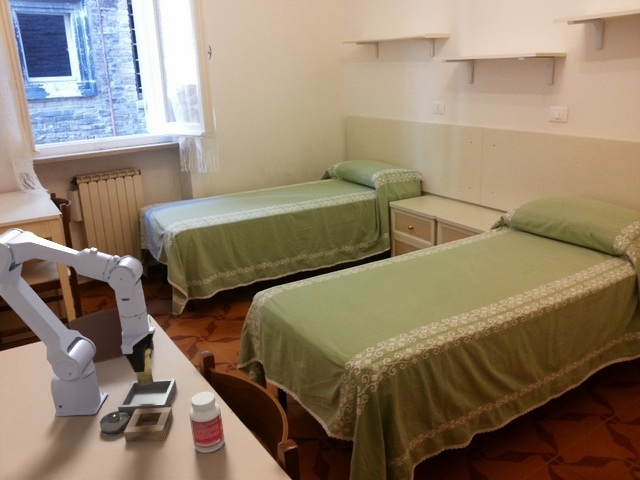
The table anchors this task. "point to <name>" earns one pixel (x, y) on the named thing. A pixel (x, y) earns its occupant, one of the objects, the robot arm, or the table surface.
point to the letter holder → (102, 333)
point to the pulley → (114, 422)
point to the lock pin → (145, 376)
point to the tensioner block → (148, 432)
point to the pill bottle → (206, 422)
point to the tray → (148, 396)
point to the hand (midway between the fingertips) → (142, 365)
